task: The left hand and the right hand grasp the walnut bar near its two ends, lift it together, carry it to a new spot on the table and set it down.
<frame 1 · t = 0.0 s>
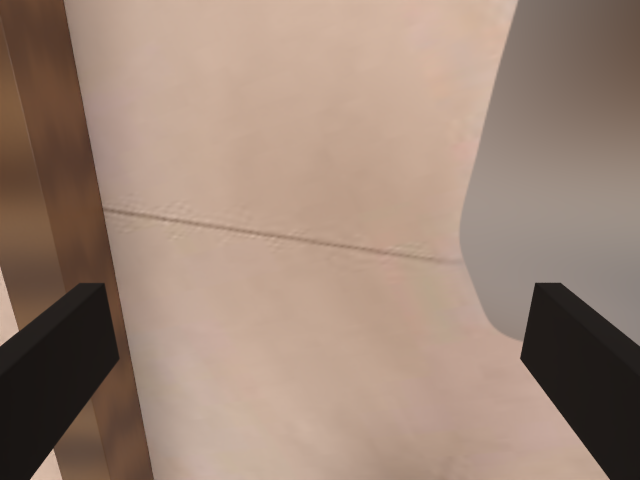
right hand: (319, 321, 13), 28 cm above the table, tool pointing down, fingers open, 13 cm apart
bar: (85, 247, 42), on the table
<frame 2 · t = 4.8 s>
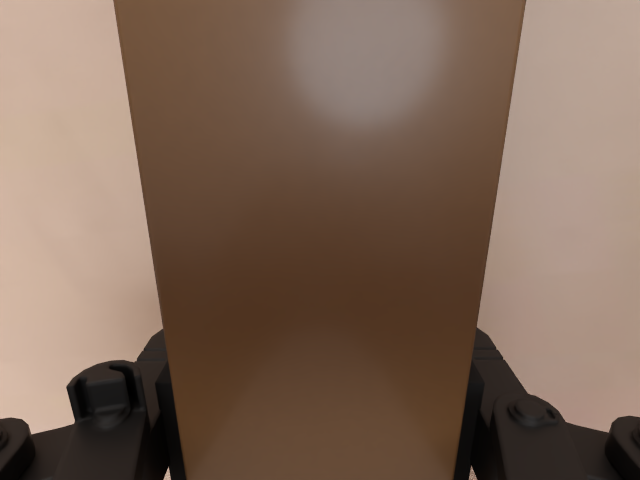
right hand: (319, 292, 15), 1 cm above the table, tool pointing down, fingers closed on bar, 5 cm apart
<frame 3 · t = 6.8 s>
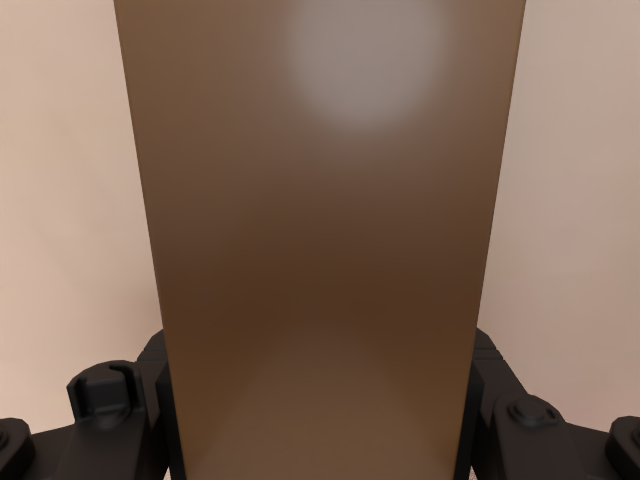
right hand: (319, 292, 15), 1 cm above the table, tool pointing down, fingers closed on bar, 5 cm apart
when the right hand's fingers open (2 cm above the table, at t = 12.7 s): bar drops 1 cm, on the table.
when the left hand's fingers open (5 cm above the table, at t = 12.9 s): bar stays where it is, on the table.
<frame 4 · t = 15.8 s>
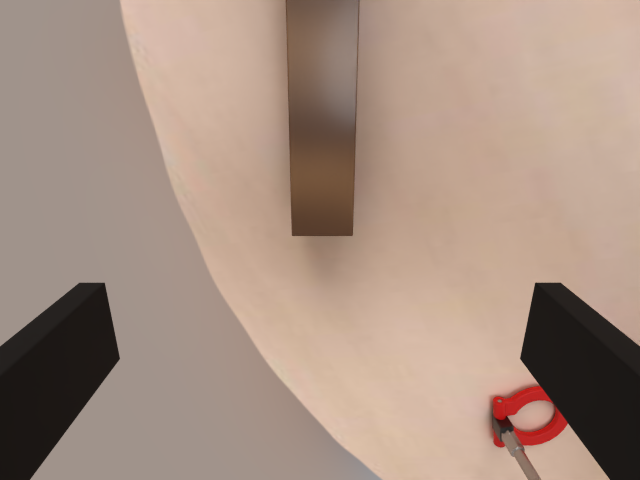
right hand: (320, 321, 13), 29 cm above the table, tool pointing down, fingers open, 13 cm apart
tow hook: (527, 412, 50), on the table
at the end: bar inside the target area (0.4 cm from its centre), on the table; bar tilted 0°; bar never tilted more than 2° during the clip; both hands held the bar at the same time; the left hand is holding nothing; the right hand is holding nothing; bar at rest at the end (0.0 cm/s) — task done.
